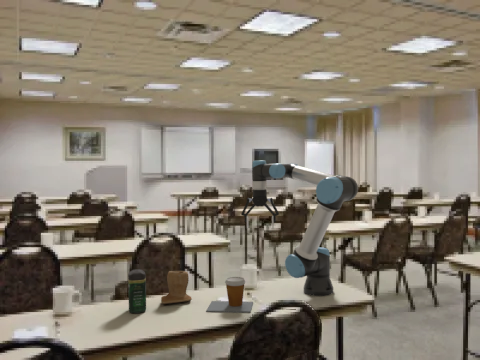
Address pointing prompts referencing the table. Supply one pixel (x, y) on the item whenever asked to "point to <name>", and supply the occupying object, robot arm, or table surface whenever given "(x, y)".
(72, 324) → the table surface
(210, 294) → the table surface
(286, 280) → the table surface
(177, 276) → the tan ankle boots
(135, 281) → the coffee jar
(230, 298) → the disposable coffee cup
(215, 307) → the rubber mat
